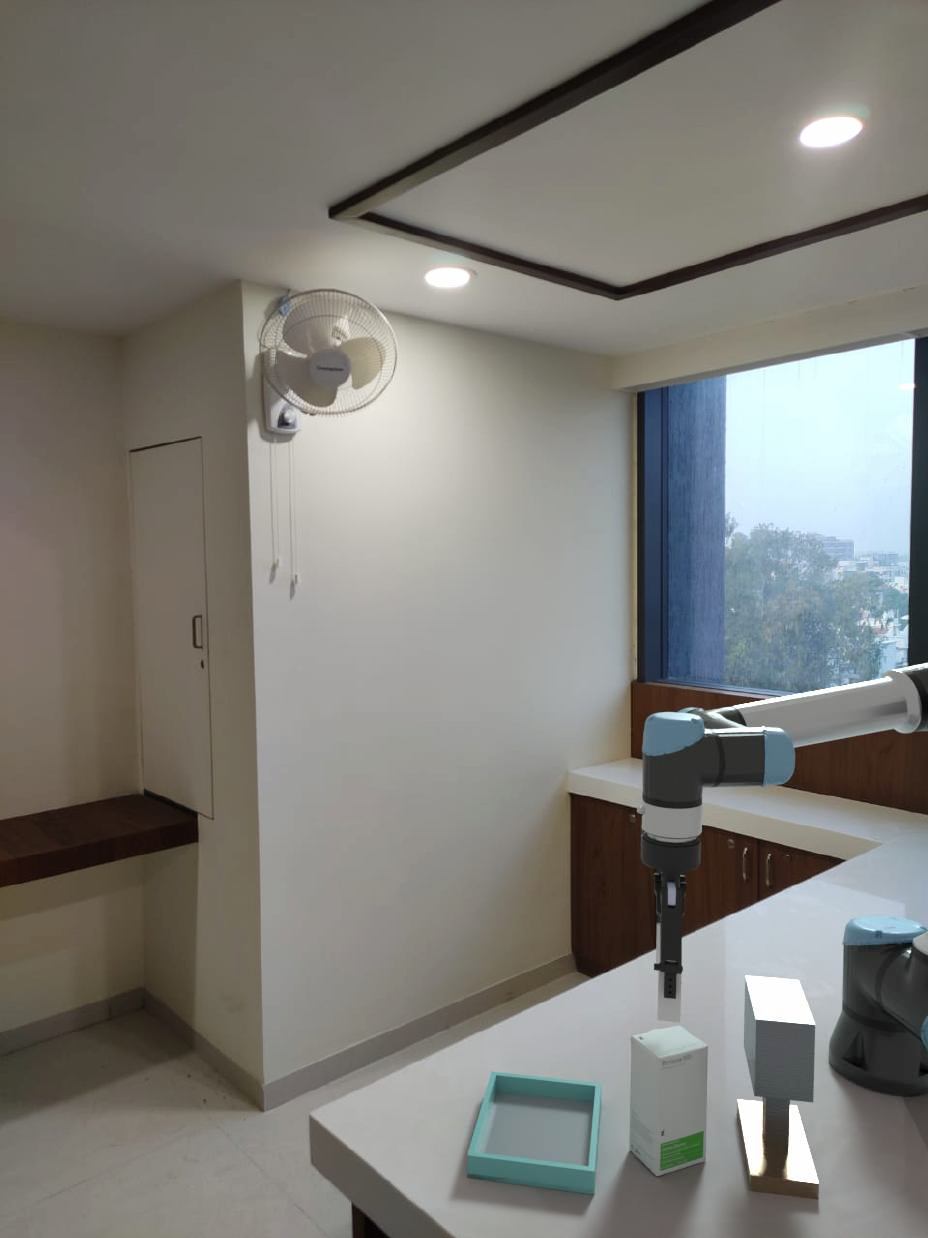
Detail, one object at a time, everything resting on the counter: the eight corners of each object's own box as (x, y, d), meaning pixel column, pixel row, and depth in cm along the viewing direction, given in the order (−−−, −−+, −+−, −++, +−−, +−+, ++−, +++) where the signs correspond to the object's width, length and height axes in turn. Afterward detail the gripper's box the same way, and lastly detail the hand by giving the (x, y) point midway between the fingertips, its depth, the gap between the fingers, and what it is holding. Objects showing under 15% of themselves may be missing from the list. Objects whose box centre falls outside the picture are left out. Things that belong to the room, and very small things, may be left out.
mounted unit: (796, 1119, 126) (799, 973, 124) (818, 1199, 110) (822, 1033, 109) (737, 1113, 127) (739, 968, 126) (750, 1190, 112) (753, 1027, 110)
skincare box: (655, 1179, 114) (657, 1060, 113) (625, 1148, 120) (627, 1035, 119) (708, 1161, 117) (710, 1045, 116) (677, 1131, 123) (678, 1021, 122)
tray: (601, 1103, 129) (601, 1083, 129) (594, 1195, 111) (594, 1171, 111) (491, 1091, 133) (491, 1071, 132) (467, 1178, 114) (467, 1155, 114)
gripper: (641, 806, 129) (638, 950, 130) (641, 863, 104) (637, 1040, 105) (695, 809, 127) (691, 955, 128) (708, 868, 103) (703, 1047, 104)
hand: (667, 994), depth 117 cm, fingers open, 13 cm apart
